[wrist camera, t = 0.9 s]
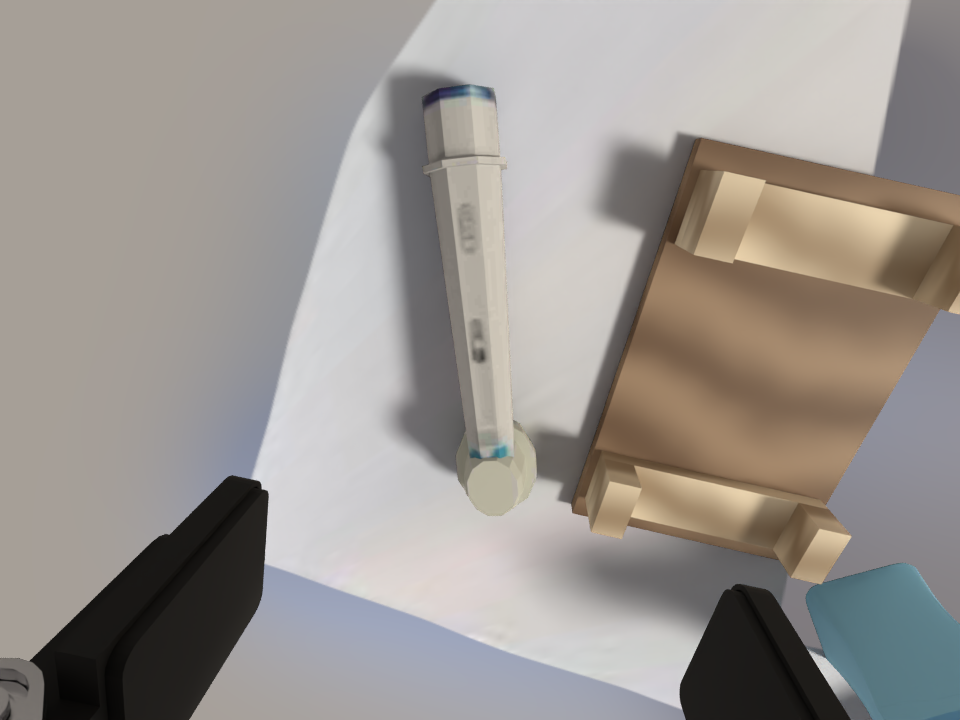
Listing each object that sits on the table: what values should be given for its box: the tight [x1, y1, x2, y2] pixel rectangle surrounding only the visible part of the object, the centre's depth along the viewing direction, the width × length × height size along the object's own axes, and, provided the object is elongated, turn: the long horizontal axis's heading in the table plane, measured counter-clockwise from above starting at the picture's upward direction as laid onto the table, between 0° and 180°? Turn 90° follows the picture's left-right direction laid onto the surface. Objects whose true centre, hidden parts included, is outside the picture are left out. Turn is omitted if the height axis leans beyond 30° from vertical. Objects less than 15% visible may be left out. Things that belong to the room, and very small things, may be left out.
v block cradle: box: [571, 138, 960, 584], centre depth 30 cm, size 25×16×4 cm, turn 168°
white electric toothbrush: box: [422, 85, 537, 516], centre depth 30 cm, size 5×7×25 cm
